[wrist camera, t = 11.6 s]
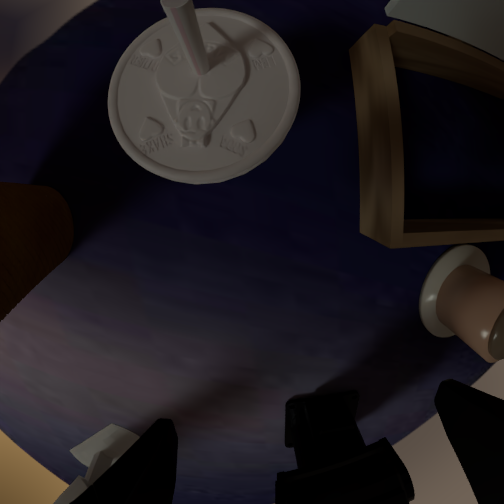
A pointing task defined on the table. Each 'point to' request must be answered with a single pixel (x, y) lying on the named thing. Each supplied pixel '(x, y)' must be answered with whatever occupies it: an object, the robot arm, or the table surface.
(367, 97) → the open wooden box frame
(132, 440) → the heart sculpture
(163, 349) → the table surface
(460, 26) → the grey angled plate
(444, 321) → the clay pot
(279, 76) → the smoothie
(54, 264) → the disposable coffee cup
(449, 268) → the cream round disc
